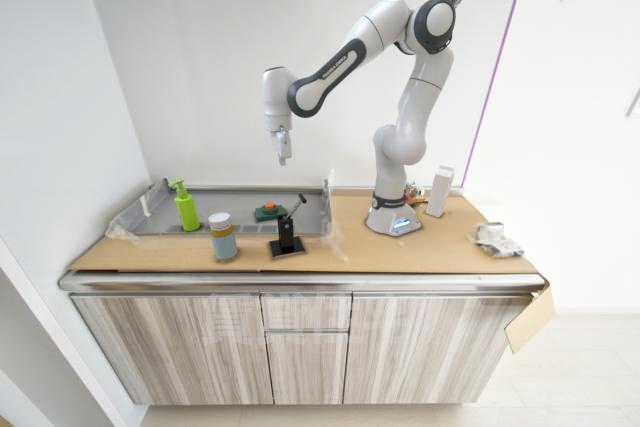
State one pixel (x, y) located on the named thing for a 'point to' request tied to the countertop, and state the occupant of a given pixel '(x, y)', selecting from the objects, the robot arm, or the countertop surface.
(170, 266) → the countertop surface
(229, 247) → the bottle
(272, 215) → the button block
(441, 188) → the milk
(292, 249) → the bracket
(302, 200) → the lever
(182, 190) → the soap dispenser
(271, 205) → the button
